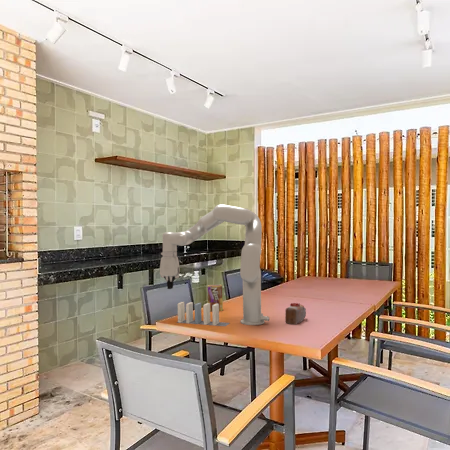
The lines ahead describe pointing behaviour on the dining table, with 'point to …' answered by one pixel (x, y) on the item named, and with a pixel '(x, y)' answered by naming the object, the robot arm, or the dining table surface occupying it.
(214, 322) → the domino
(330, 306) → the dining table surface
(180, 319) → the domino
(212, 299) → the candy box
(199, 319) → the slate domino
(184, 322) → the mat
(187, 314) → the domino
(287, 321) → the food item
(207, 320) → the domino
